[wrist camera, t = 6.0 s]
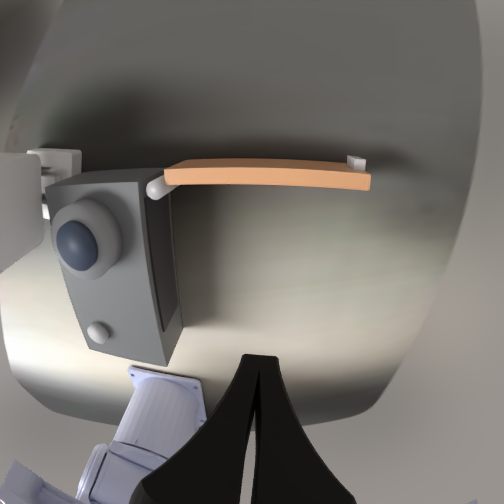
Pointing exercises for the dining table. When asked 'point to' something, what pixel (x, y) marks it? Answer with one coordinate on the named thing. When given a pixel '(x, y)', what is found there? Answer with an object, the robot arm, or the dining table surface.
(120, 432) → the robot arm
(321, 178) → the hatch
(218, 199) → the dining table surface
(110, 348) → the housing
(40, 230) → the security camera
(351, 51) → the dining table surface
